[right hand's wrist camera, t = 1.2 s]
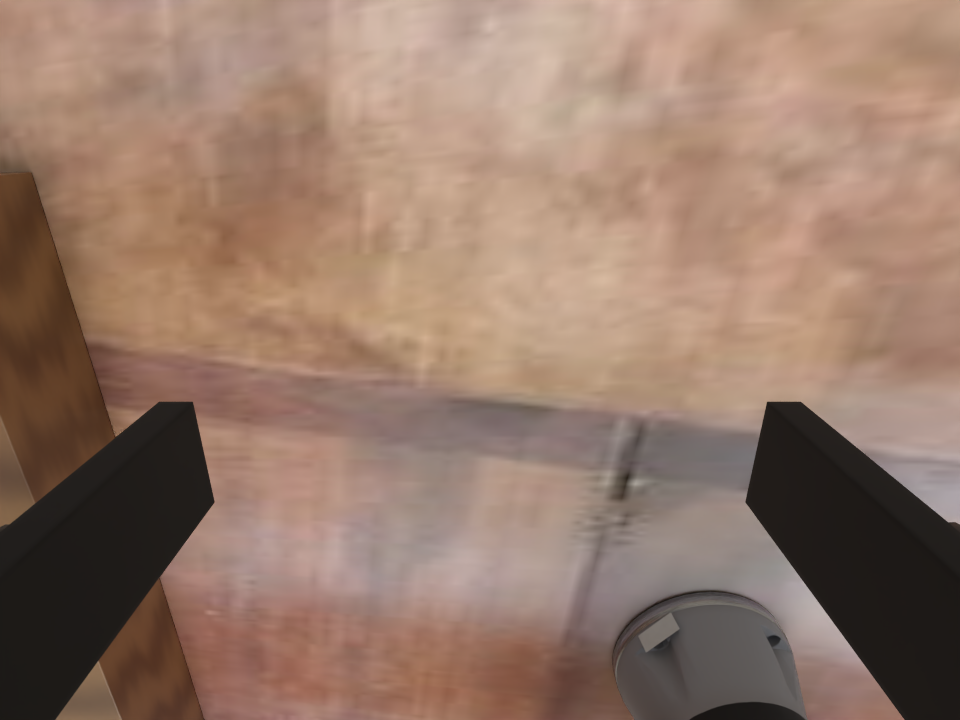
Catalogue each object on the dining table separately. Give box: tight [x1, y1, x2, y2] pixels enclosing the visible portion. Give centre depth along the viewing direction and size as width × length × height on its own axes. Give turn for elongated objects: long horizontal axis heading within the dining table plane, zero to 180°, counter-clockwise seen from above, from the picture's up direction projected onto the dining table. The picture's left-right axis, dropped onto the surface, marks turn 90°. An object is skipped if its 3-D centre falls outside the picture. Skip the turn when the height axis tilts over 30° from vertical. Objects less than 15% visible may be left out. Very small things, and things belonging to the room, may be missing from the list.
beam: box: [0, 172, 204, 720], centre depth 44 cm, size 73×5×8 cm, turn 1°
